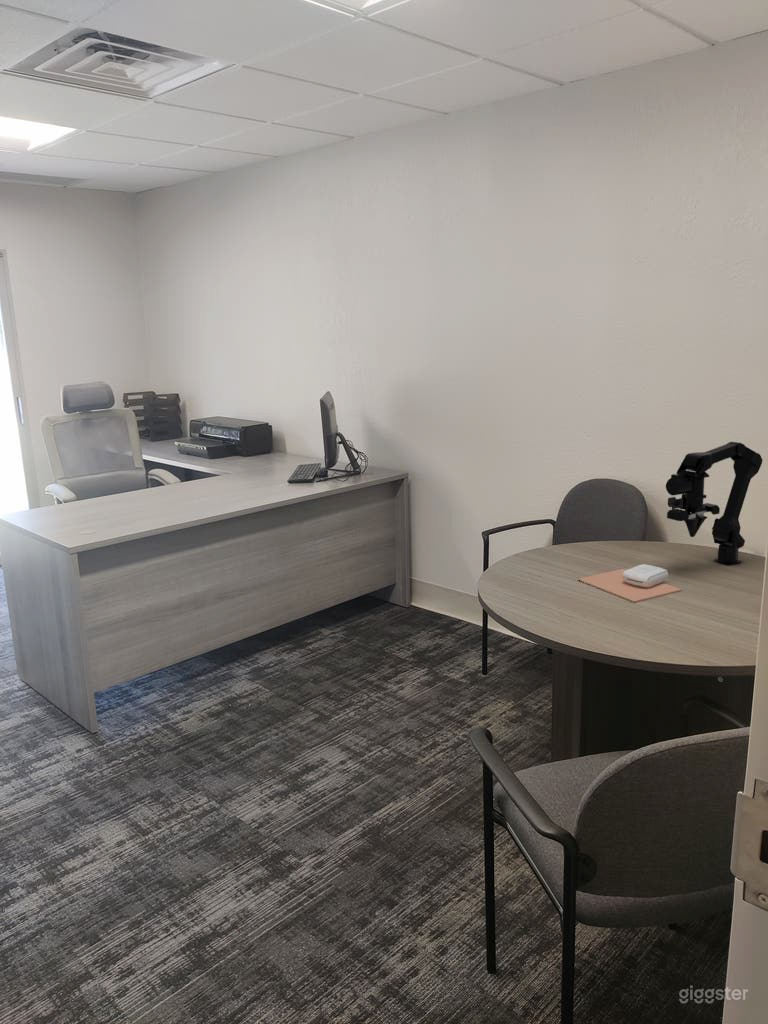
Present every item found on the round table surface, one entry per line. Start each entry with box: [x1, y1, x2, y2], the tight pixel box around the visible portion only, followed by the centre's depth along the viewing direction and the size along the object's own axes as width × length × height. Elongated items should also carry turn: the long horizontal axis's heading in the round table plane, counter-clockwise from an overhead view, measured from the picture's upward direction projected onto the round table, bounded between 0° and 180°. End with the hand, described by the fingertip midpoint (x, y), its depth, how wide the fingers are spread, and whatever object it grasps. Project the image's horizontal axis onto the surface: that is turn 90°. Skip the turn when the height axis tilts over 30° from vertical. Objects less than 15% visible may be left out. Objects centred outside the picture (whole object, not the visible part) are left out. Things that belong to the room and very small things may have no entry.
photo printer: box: [622, 563, 669, 587], centre depth 251 cm, size 10×4×12 cm
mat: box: [577, 568, 683, 603], centre depth 251 cm, size 20×26×1 cm
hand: (692, 536), depth 260 cm, fingers closed
